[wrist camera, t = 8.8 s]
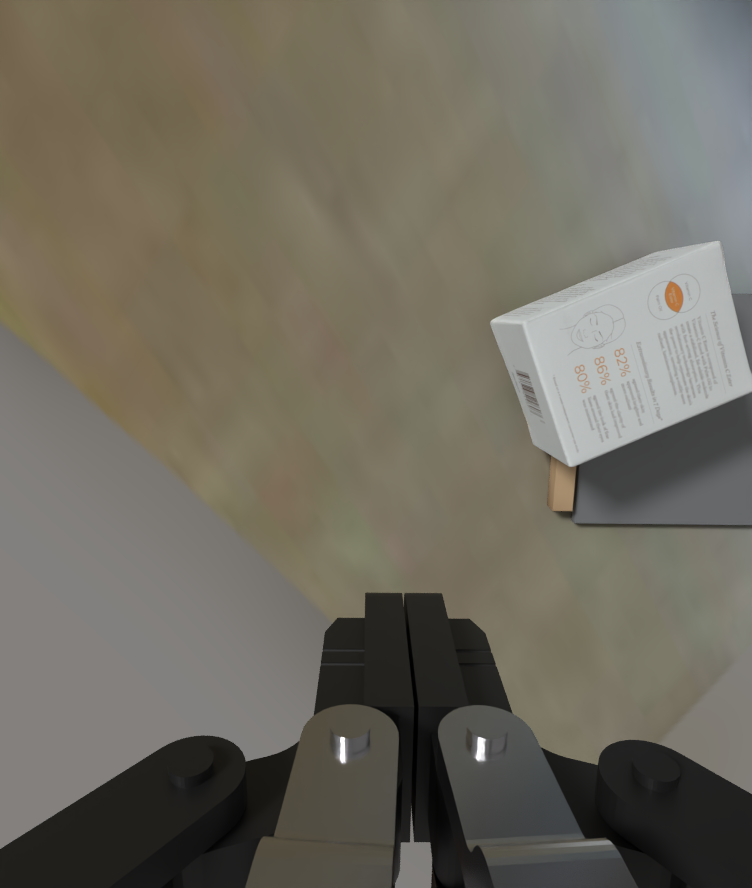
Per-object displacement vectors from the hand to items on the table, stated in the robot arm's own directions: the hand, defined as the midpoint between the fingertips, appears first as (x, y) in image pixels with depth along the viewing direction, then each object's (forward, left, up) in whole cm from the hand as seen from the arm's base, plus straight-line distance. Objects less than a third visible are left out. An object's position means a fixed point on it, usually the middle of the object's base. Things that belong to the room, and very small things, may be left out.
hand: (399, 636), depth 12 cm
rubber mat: (0, +18, -26) cm, 32 cm away
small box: (-2, +7, -22) cm, 23 cm away
